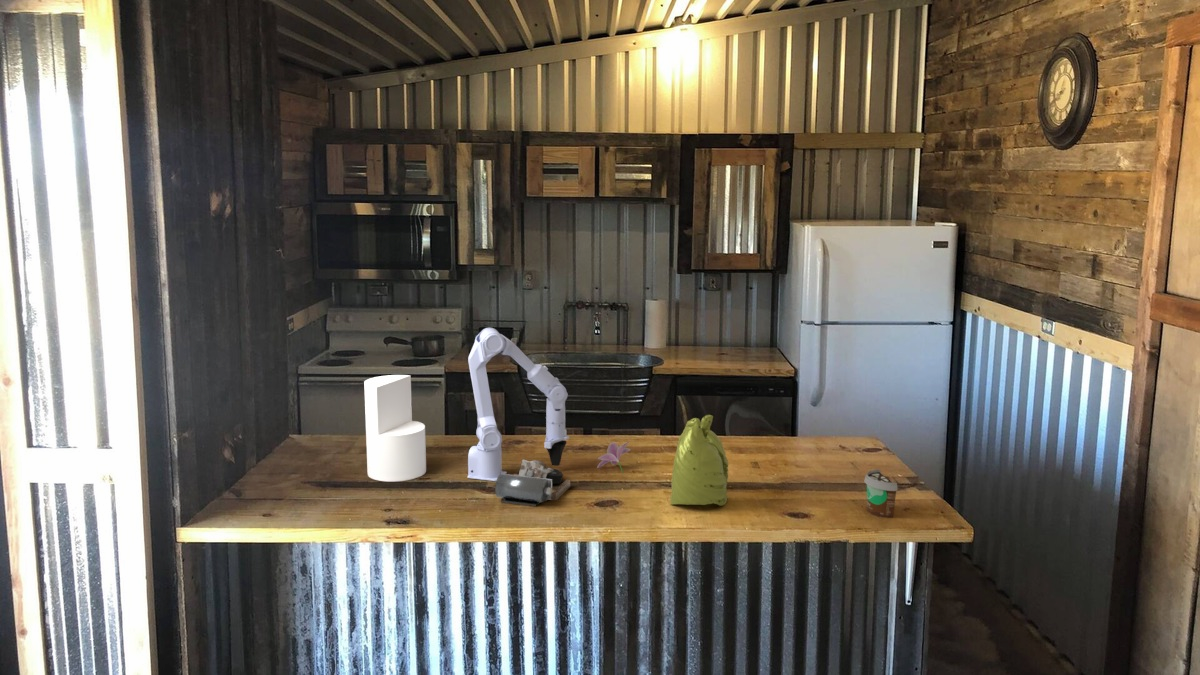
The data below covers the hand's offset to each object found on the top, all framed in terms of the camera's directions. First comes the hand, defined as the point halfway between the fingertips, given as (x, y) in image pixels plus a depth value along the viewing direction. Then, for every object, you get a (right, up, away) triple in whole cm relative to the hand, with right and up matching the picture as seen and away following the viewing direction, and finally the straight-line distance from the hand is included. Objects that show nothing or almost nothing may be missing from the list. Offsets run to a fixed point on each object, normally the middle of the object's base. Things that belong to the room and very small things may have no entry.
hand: (555, 464), depth 276 cm
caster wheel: (-3, -4, -10) cm, 11 cm away
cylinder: (-48, -2, -2) cm, 48 cm away
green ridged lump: (+41, -6, -20) cm, 47 cm away
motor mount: (-6, -5, -20) cm, 21 cm away
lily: (+18, -2, +2) cm, 18 cm away
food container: (+88, -9, -31) cm, 93 cm away
